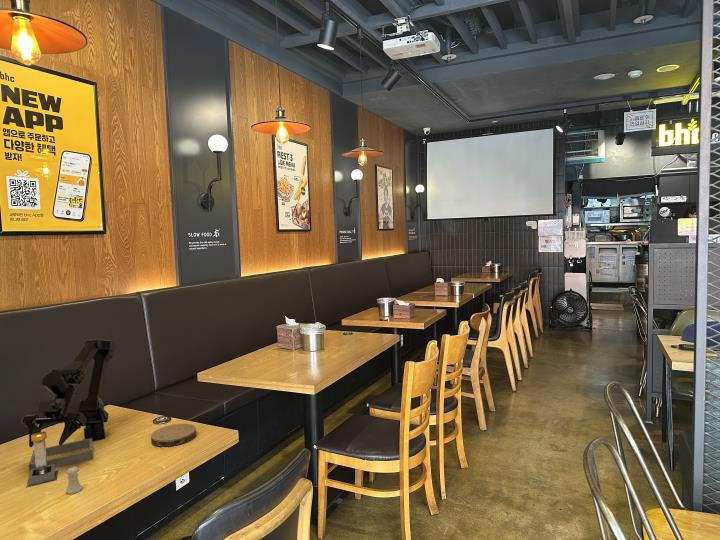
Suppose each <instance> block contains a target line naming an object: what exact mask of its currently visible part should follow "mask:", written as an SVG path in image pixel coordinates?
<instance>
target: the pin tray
mask: <svg viewBox="0 0 720 540" xmlns="http://www.w3.org/2000/svg"><path fill="white" fill-rule="evenodd" d="M93 442H94V441H92V438H89V439H80V440H75V441H72V442H71V441H70V442H66V443H63V444H62V445H59V444H57V445H51V446H48V447H46V456H47V457H52V456H57V455H62V454H65V453H66V454H67V453H70V452H74V451H75V452H76V451H79V450H83V449H88V448H89V450H86V451H82V452H78V453H73V454H67V455H63V456H60V457H55V458H51V459H47V466H49V465H53V464H55V469H56V468H62V467H65V466H71V465H75V464H79V463H83V462H86V461H87V462H88V461H91V460H94V451H93V450H94V447H93V446H94V445H93ZM28 469H29V471H30V470H31V469H36V463H35V452H34V450H32V452H31V457H30V460H29V464H28Z"/></svg>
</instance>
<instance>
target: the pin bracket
mask: <svg viewBox="0 0 720 540" xmlns="http://www.w3.org/2000/svg"><path fill="white" fill-rule="evenodd" d="M47 467H48V473H44V474H40V475H37V474H36V469H31V470H29V474H28V478H27V483H26V486H25V488H32V487H34V486H38V485H39V486H40V485H43V484H48V483H51V482H55V481H58V475H59V469H57V470H56V468H55V464H53V465H49V466H47Z"/></svg>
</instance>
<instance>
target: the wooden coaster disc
mask: <svg viewBox="0 0 720 540" xmlns="http://www.w3.org/2000/svg"><path fill="white" fill-rule="evenodd" d="M196 429H197V428H196V426H195V425H194V424H192V423H191V424H190V423H175V424H170V425H165V426H162V427H160V428H158V429H156V430H155V431H153V432H152V433H151V435H150V440H151V441H150V442H151V445H152V446H153V447H156V448H160V449H161V448H162V447H168V448H174V446H175V447H179V446H181V445H184V444H187V443H190V442H191V441H193V440H194V439H195V438H196V437H197V436H196V435H197V430H196ZM162 449H163V448H162Z"/></svg>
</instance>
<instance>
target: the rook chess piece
mask: <svg viewBox="0 0 720 540" xmlns="http://www.w3.org/2000/svg"><path fill="white" fill-rule="evenodd" d="M79 471H80V470H79V468H78V466H77V465H76V466H75V465H74V466H72V467H69V468H67V470H66V472H65V473H66V474H67V479H68V485H67V487H66V490H65V494H68V495H74V494H77V493H79V492H81V491H82V489H83V486H82V485H81V483H80V480H79V473H78V472H79Z"/></svg>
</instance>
